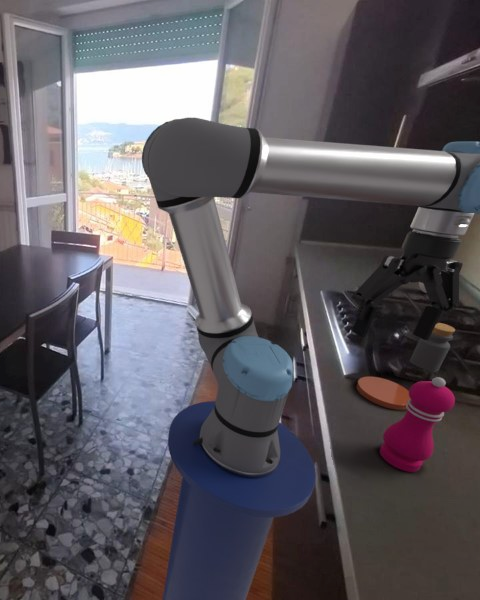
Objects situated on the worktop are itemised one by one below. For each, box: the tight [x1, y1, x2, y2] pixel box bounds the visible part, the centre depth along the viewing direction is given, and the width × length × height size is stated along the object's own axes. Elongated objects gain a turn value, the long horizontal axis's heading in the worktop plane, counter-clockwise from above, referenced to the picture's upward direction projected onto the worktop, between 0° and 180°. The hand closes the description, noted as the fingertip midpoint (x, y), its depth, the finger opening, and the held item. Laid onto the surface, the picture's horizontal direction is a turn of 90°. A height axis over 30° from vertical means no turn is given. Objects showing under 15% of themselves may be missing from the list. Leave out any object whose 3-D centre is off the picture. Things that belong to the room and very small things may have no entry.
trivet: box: [356, 376, 410, 411], centre depth 89 cm, size 11×11×2 cm
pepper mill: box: [379, 376, 456, 473], centre depth 67 cm, size 7×7×20 cm
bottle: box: [409, 322, 456, 373], centre depth 93 cm, size 6×6×15 cm
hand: (389, 335), depth 73 cm, fingers open, 13 cm apart
